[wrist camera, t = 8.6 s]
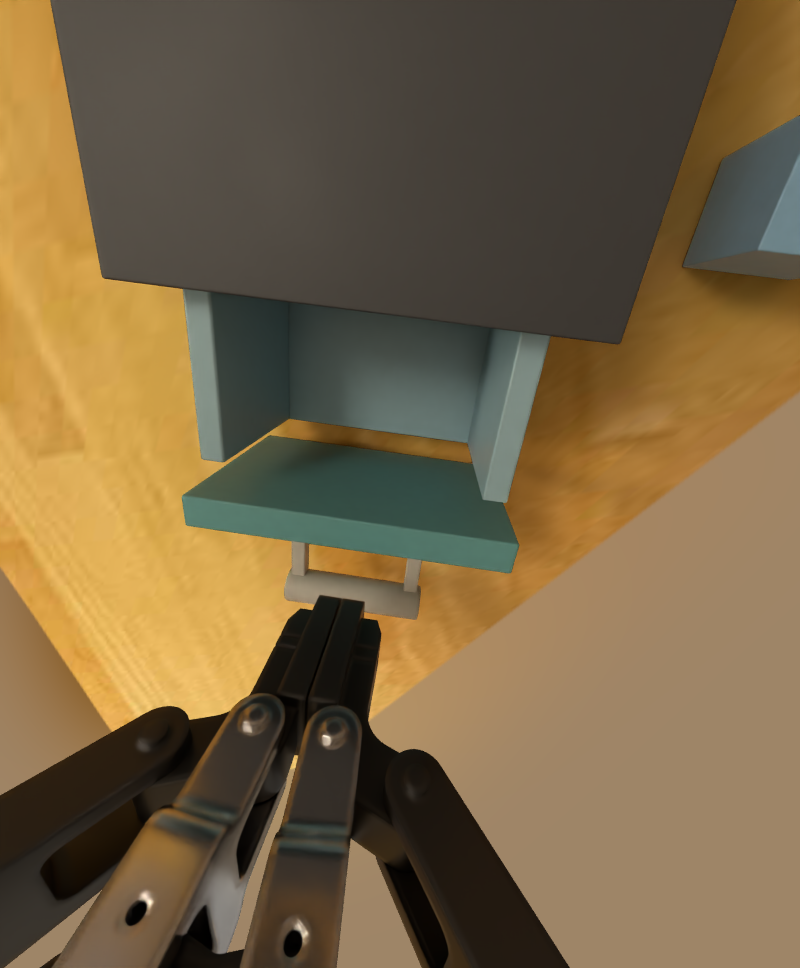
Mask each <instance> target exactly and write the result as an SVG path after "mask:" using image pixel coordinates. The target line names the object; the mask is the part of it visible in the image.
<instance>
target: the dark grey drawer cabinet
mask: <svg viewBox="0 0 800 968" xmlns="http://www.w3.org/2000/svg"><path fill="white" fill-rule="evenodd" d="M50 1H51V7H52V12H53V17H54V23H55V28H56V33H57V39H58V44H59V49H60V55H61V60H62V65H63V71H64V76H65V81H66V87H67V92H68V97H69V103H70V108H71V114H72V119H73V124H74V130H75V135H76V140H77V146H78V151H79V156H80V162H81V167H82V172H83V178H84V183H85V188H86V194H87V199H88V204H89V210H90V215H91V220H92V226H93V231H94V237H95V242H96V247H97V253H98V258H99V263H100V269H101V274H102V277H103V278H105V279H111V280H119V281H127V282H134V283H142V284H150V285H157V286H165V287H173V288H180V289H189V290H197V291H205V292H212V293H220V294H228V295H236V296H244V297H251V298H259V299H267V300H275V301H282V302H290V303H298V304H306V305H314V306H321V307H329V308H337V309H345V310H353V311H360V312H368V313H376V314H384V315H392V316H399V317H407V318H415V319H423V320H430V321H438V322H446V323H454V324H462V325H469V326H477V327H485V328H493V329H501V330H508V331H516V332H524V333H532V334H539V335H547V336H553V337H562V338H570V339H578V340H586V341H594V342H602V343H610V344H620V343H621V340H622V337H623V334H624V331H625V328H626V325H627V323H628V320H629V317H630V314H631V311H632V308H633V305H634V302H635V299H636V296H637V293H638V290H639V287H640V284H641V281H642V278H643V275H644V272H645V269H646V266H647V263H648V261H649V258H650V255H651V252H652V249H653V246H654V243H655V240H656V237H657V234H658V231H659V228H660V225H661V222H662V219H663V216H664V213H665V210H666V207H667V204H668V201H669V199H670V196H671V193H672V190H673V187H674V184H675V181H676V178H677V175H678V172H679V169H680V166H681V163H682V160H683V157H684V154H685V151H686V148H687V145H688V142H689V139H690V137H691V134H692V131H693V128H694V125H695V122H696V119H697V116H698V113H699V110H700V107H701V104H702V101H703V98H704V95H705V92H706V89H707V86H708V83H709V80H710V78H711V75H712V72H713V69H714V66H715V63H716V60H717V57H718V54H719V51H720V48H721V45H722V42H723V39H724V36H725V33H726V30H727V27H728V24H729V21H730V18H731V16H732V13H733V10H734V7H735V4H736V1H737V0H50Z"/></svg>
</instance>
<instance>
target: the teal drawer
mask: <svg viewBox="0 0 800 968" xmlns="http://www.w3.org/2000/svg"><path fill="white" fill-rule="evenodd" d="M183 296H184V305H185V314H186V323H187V332H188V341H189V350H190V360H191V369H192V378H193V387H194V396H195V405H196V414H197V423H198V432H199V441H200V451H201V458H202V459H203V460H210V461H217V462H225V461H227V460H228V459H230V458H231V457H233V456H234V455H236V454H237V453H239V452H240V451H242V450H243V449H245V448H246V447H248V446H249V445H250V444H252V443H253V442H255V441H256V440H258V439H259V438H261V437H262V436H264V435H265V434H267V433H268V432H270V431H271V430H273V429H274V428H276V427H277V426H279V425H280V424H282V423H283V422H285V421H286V420H288V419H296V420H303V421H310V422H317V423H325V424H332V425H339V426H346V427H354V428H361V429H368V430H375V431H383V432H390V433H397V434H404V435H412V436H419V437H426V438H433V439H441V440H448V441H455V442H462V443H467V444H468V447H469V451H470V455H471V458H472V462H473V464H471V463H464V462H457V461H449V460H442V459H435V458H428V457H421V456H414V455H407V454H399V453H392V452H385V451H378V450H371V449H364V448H356V447H349V446H342V445H335V444H328V443H321V442H313V441H306V440H299V439H292V438H285V437H278V436H271V435H270V436H268V437H266V438H265V439H263V440H262V441H261V442H259V443H258V444H256V445H255V446H253V447H252V448H250V449H249V450H248V451H246V452H245V453H243V454H242V455H240V456H239V457H237V458H236V459H234V460H233V461H232V462H230V463H229V464H227V465H226V466H224V467H223V468H221V469H220V470H219V471H217V472H216V473H214V474H213V475H211V476H210V477H208V478H207V479H205V480H204V481H203V482H201V483H200V484H198V485H197V486H195V487H194V488H192V489H191V490H190V491H188V492H187V493H185V494H184V495H183V496H182V502H183V509H184V516H185V523H186V525H187V526H193V527H200V528H207V529H213V530H220V531H227V532H234V533H240V534H247V535H254V536H261V537H267V538H274V539H281V540H288V541H292V568H291V570H290V571H289V573H288V576H287V579H286V583H285V588H284V596H285V599H286V600H289V601H295V602H302V603H308V604H315V603H316V601H317V599H318V597H319V595H325V596H332V597H338V598H342V599H343V598H345V599H352V600H358V601H365V608H364V612H367V613H374V614H380V615H387V616H393V617H400V618H406V619H413V620H415V619H417V616H418V611H419V604H420V595H421V587H420V586H419V585H418V580H419V574H420V568H421V563H422V561H429V562H436V563H443V564H449V565H456V566H463V567H470V568H476V569H483V570H490V571H497V572H503V573H511V572H512V568H513V565H514V562H515V558H516V555H517V551H518V548H519V543H518V541H517V538H516V535H515V533H514V530H513V527H512V525H511V522H510V519H509V517H508V514H507V512H506V509H505V506H504V504H503V503H506V502H507V500H508V496H509V493H510V489H511V485H512V481H513V477H514V474H515V470H516V466H517V462H518V459H519V455H520V451H521V447H522V443H523V440H524V436H525V432H526V428H527V425H528V421H529V417H530V413H531V409H532V406H533V402H534V398H535V394H536V390H537V387H538V383H539V379H540V375H541V372H542V368H543V364H544V360H545V356H546V353H547V349H548V345H549V341H550V338H551V336H547V335H539V334H532V333H524V332H516V331H508V330H501V329H493V328H485V327H477V326H469V325H462V324H454V323H446V322H438V321H430V320H423V319H415V318H407V317H399V316H392V315H384V314H376V313H368V312H360V311H353V310H345V309H337V308H329V307H321V306H314V305H306V304H298V303H290V302H282V301H275V300H267V299H259V298H251V297H244V296H236V295H228V294H220V293H212V292H205V291H197V290H189V289H183ZM309 544H315V545H321V546H328V547H335V548H342V549H348V550H355V551H362V552H369V553H375V554H382V555H389V556H395V557H402V558H408V559H407V565H406V572H405V579H404V583H399V582H392V581H386V580H379V579H372V578H366V577H359V576H352V575H346V574H339V573H332V572H326V571H319V570H312V569H308V565H309Z"/></svg>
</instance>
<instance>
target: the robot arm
mask: <svg viewBox="0 0 800 968" xmlns="http://www.w3.org/2000/svg"><path fill="white" fill-rule="evenodd" d="M364 608H365V601H358V600H352V599H345V598H343V599H342V598H338V597H332V596H325V595H319V597H318V599H317V601H316V603H315V606H314V608H313V610H307V609H299V610H298V611H297V612H296V613H295V614H294V615H293V616H291V617H290V618H289V619H288V621H287V623H286V625H285V627H284V629H283V631H282V633H281V636H280V637H279V639H278V641H277V643H276V646H275V647H274V649H273V651H272V653H271V655H270V657H269V659H268V661H267V663H266V665H265V667H264V669H263V671H262V673H261V675H260V677H259V678H258V680H257V682H256V684H255V686H254V688H253V690H252V692H251V694H250V695H249V696H248V697H246V698H244V699H242V700H241V701H239V702H238V703H237V704H236V705H235V706H234V707H233V708H232V710H231V711H229V712H227V713H224V714H221V715H217V716H211V717H205V718H199V719H193V720H189V718H188V715H187V714H186V713H185V711H183V710H182V709H180V708H178V707H174V706H166V707H160V708H156V709H154V710H151V711H149V712H147V713H145V714H143V715H141V716H140V717H138V718H136V719H134V720H133V721H131V722H129V723H127V724H126V725H124V726H122V727H120V728H119V729H117V730H115V731H113V732H111V733H110V734H108V735H106V736H104V737H103V738H101V739H99V740H98V741H96V742H94V743H92V744H90V745H89V746H87V747H85V748H83V749H81V750H80V751H78V752H76V753H75V754H73V755H71V756H69V757H67V758H66V759H64V760H62V761H60V762H58V763H57V764H55V765H53V766H51V767H50V768H48V769H46V770H45V771H43V772H41V773H39V774H37V775H36V776H34V777H32V778H30V779H28V780H27V781H25V782H23V783H21V784H20V785H18V786H16V787H14V788H13V789H11V790H9V791H7V792H6V793H4V794H2V795H0V968H4V967H5V966H7V965H8V964H9V963H10V962H12V961H13V960H14V959H15V958H17V957H18V956H19V955H20V954H22V953H23V952H24V951H25V950H27V949H28V948H29V947H31V946H32V945H33V944H34V943H36V942H37V941H38V940H39V939H40V938H42V937H43V936H44V935H46V934H47V933H48V932H49V931H51V930H52V929H53V928H54V927H56V926H57V925H58V924H59V923H61V922H62V921H63V920H64V919H66V918H67V917H68V916H69V915H71V914H72V913H73V912H75V911H76V910H77V909H78V908H80V907H81V906H82V905H83V904H85V903H86V902H87V901H88V900H90V899H91V898H92V897H93V896H94V895H96V894H97V893H98V892H100V891H101V890H102V891H101V892H100V894H99V896H98V897H97V899H96V900H95V902H94V903H93V905H92V906H91V908H90V910H89V911H88V913H87V914H86V916H85V917H84V919H83V920H82V922H81V923H80V925H79V926H78V928H77V929H76V931H75V933H74V934H73V936H72V937H71V939H70V940H69V942H68V943H67V945H66V946H65V948H64V950H63V951H62V953H60V954H58V955H57V956H55V957H54V958H53V959H51V960H50V961H48V962H47V963H46V964H44V965H43V966H42V967H40V968H336V967H337V958H338V949H339V940H340V931H341V922H342V912H343V904H344V895H345V885H346V876H347V867H348V858H349V848H350V839H353V840H354V841H355V842H357V843H358V844H360V845H361V846H362V847H364V848H365V849H367V850H368V851H370V852H371V853H372V854H374V855H375V856H376V859H377V862H378V865H379V867H380V870H381V872H382V874H383V877H384V879H385V881H386V884H387V886H388V889H389V891H390V894H391V896H392V898H393V900H394V903H395V905H396V908H397V910H398V912H399V915H400V917H401V920H402V922H403V924H404V927H405V929H406V931H407V934H408V936H409V938H410V941H411V943H412V946H413V948H414V950H415V953H416V955H417V957H418V960H419V962H420V965H421V967H422V968H570V967H569V966H568V964H567V963H566V961H565V960H564V958H563V957H562V955H561V954H560V952H559V950H558V949H557V947H556V946H555V944H554V942H553V941H552V939H551V938H550V936H549V935H548V933H547V932H546V930H545V928H544V927H543V925H542V924H541V922H540V921H539V919H538V917H537V916H536V914H535V913H534V911H533V910H532V908H531V906H530V905H529V903H528V902H527V900H526V899H525V897H524V895H523V894H522V893H521V891H520V889H519V888H518V886H517V884H516V883H515V882H514V880H513V878H512V877H511V875H510V874H509V872H508V870H507V869H506V867H505V866H504V864H503V863H502V861H501V859H500V858H499V857H498V855H497V853H496V852H495V850H494V849H493V847H492V846H491V844H490V842H489V841H488V839H487V838H486V836H485V834H484V833H483V831H482V830H481V828H480V827H479V825H478V823H477V822H476V820H475V819H474V817H473V816H472V814H471V813H470V811H469V809H468V808H467V806H466V805H465V803H464V802H463V800H462V798H461V797H460V795H459V794H458V792H457V791H456V789H455V787H454V786H453V784H452V783H451V781H450V780H449V778H448V777H447V775H446V773H445V772H444V770H443V769H442V767H441V766H440V764H439V763H438V761H437V760H436V759H434V757H432V756H431V755H430V754H428V753H426V752H424V751H421V750H417V749H410V750H405V751H403V752H401V753H399V752H397V751H395V750H393V749H391V748H390V747H388V746H386V745H385V744H383V743H382V742H381V741H380V740H379V739H377V737H376V736H375V735H374V734H373V732H372V730H371V728H370V726H369V722H368V717H369V712H370V706H371V700H372V695H373V689H374V683H375V678H376V672H377V666H378V658H379V650H380V642H381V631H380V628H379V624H378V621H377V620H371V619H365V618H364ZM294 755H299V756H298V760H297V764H296V768H295V772H294V776H293V780H292V784H291V788H290V792H289V797H288V800H287V804H286V808H285V812H284V816H283V820H282V824H281V827H280V829H279V832H277V833H276V835H275V838H274V840H273V843H272V846H271V850H270V853H269V857H268V860H267V864H266V868H265V872H264V875H263V879H262V883H261V887H260V891H259V895H258V898H257V902H256V907H255V910H254V914H253V918H252V922H251V926H250V929H249V934H248V937H247V941H246V945H245V949H243V950H238V951H233V952H228V953H227V950H228V947H229V945H230V942H231V939H232V937H233V934H234V931H235V928H236V925H237V922H238V919H239V916H240V912H241V908H242V904H243V898H244V894H245V890H246V887H247V884H248V881H249V878H250V876H251V873H252V870H253V868H254V865H255V863H256V860H257V858H258V855H259V853H260V850H261V848H262V845H263V843H264V840H265V837H266V835H267V833H268V830H269V828H270V825H271V823H272V820H273V817H274V815H275V812H276V810H277V808H278V805H279V802H280V800H281V797H282V795H283V792H284V789H285V786H286V780H287V779H286V778H287V775H288V773H289V770H290V767H291V764H292V761H293V758H294Z"/></svg>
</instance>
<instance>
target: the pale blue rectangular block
mask: <svg viewBox="0 0 800 968" xmlns="http://www.w3.org/2000/svg"><path fill="white" fill-rule="evenodd" d="M683 267H687V268H695V269H703V270H711V271H720V272H728V273H736V274H744V275H753V276H761V277H769V278H777V279H786V280H792V279H800V115H799V116H797V117H795V118H794V119H792V120H790V121H788V122H787V123H785V124H783V125H781V126H780V127H778V128H776V129H774V130H772V131H771V132H769V133H767V134H765V135H764V136H762V137H760V138H758V139H757V140H755V141H753V142H751V143H749V144H748V145H746V146H744V147H742V148H741V149H739V150H737V151H735V152H734V153H732V154H730V155H728V156H726V157H725V158H723V159H722V161H721V164H720V167H719V169H718V172H717V175H716V177H715V180H714V183H713V185H712V188H711V191H710V194H709V196H708V199H707V202H706V204H705V207H704V210H703V212H702V215H701V218H700V220H699V223H698V226H697V228H696V231H695V234H694V236H693V239H692V242H691V244H690V247H689V250H688V252H687V255H686V258H685V261H684V263H683Z"/></svg>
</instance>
